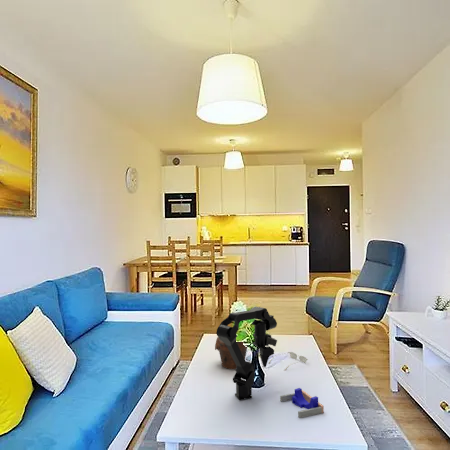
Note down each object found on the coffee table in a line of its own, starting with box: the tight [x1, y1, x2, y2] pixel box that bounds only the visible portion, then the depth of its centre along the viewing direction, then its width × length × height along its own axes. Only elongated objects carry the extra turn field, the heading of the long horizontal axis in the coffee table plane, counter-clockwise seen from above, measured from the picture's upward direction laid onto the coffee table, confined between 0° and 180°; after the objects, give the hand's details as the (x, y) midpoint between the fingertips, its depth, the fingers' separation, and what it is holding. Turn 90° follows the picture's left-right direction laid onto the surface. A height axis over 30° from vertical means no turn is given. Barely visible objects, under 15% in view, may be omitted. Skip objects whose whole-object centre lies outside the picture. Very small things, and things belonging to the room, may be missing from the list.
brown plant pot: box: [214, 336, 248, 370], centre depth 232 cm, size 18×20×18 cm
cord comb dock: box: [279, 389, 325, 419], centre depth 180 cm, size 12×17×3 cm
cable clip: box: [291, 387, 319, 410], centre depth 180 cm, size 12×4×6 cm, turn 32°
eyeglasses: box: [267, 351, 309, 372], centre depth 233 cm, size 15×18×4 cm
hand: (260, 363), depth 201 cm, fingers open, 9 cm apart
